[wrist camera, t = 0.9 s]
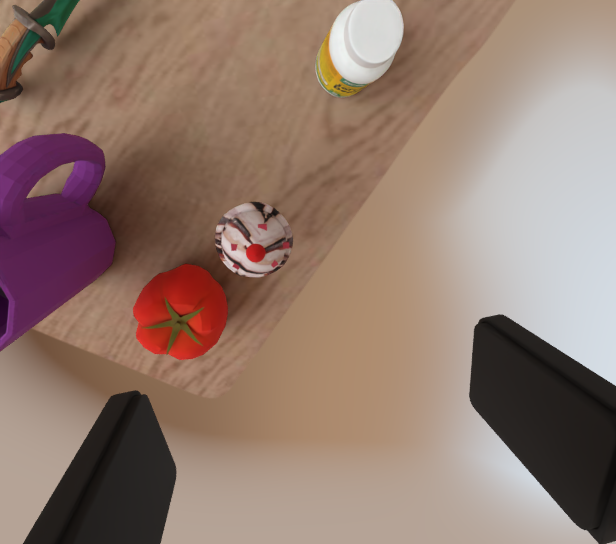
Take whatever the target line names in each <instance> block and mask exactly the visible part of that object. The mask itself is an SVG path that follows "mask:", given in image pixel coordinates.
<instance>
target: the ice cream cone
mask: <svg viewBox="0 0 616 544" xmlns="http://www.w3.org/2000/svg"><path fill="white" fill-rule="evenodd" d="M215 244H216V249H217V252H218V255H219V257H220V259H221V260H222V262H223V263H224V264H225V265H226V266H227V267H228V268H229V269H230V270H232V271H233V272H234V273H236V274H238V275H240V276H247V277H262V276H266V275H269V274H271V273H273V272H275V271H277V270H278V269H280V268H281V267H282V266H283V265H284V264H285V262H286V261H287V259H288V257H289V255H290V252H291V249H292V244H293V237H292V231H291V229H290V226H289V224H288V223H287V221H286V219H285V218H284V217H283V216H282V215H281V213H279V212H278V211H277V210H276V209H275V208H273V207H271V206H270V205H268V204H265V203H261V202H249V203H244V204H241V205H239V206H236V207H235V208H233V209H231V210H229V211H228V212H227V213H225V214H224V215H223V217H222V218H221V219H220V221H219V223H218V225H217V228H216V232H215Z"/></svg>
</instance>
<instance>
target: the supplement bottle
mask: <svg viewBox="0 0 616 544" xmlns="http://www.w3.org/2000/svg"><path fill="white" fill-rule="evenodd" d="M403 30H404V25H403V18H402V15H401V12H400V10H399V8H398V7H397V5H396V4H395V3H394V2H393V1H392V0H361V1H358V2H355V3H353V4H351V5H349V6H348V7H346V8H345V9H344V10H343V11H342V12H341V13H340V14H339V15H338V17H337V18H336V20H335V22H334V24H333V25H332V27H331V29H330V31H329V33H328V34H327V36H326V38H325V40H324V42H323V44H322V45H321V47H320V49H319V51H318V54H317V58H316V74H317V78H318V81H319V83H320V84H321V86H322V87H323V88H324V89H325V90H326V91H327V92H328V93H329V94H331V95H333V96H335V97H339V98H344V97H349V96H352V95H354V94H356V93H357V92H359V91H360V90H362V89H363V88H365V87H366V86H368V85H369V84H371V83H372V82H374V81H376V80H377V79H378V78H380V77H381V76H382V75H383V74H384V73H385V72H386V71H387V70H388V68H389V67H390V65H391V63H392V61H393V59H394V56H395V53H396V51H397V50H398V48H399V46H400V44H401V41H402V38H403Z"/></svg>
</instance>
